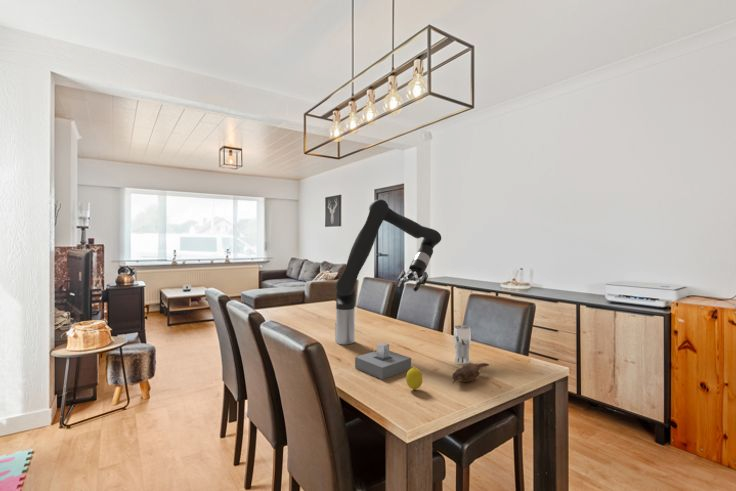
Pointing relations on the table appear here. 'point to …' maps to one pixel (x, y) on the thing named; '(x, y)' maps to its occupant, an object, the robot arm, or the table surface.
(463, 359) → the beer glass
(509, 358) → the table surface
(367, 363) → the well block
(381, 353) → the steel bar
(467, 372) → the bird sculpture
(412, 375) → the lemon
